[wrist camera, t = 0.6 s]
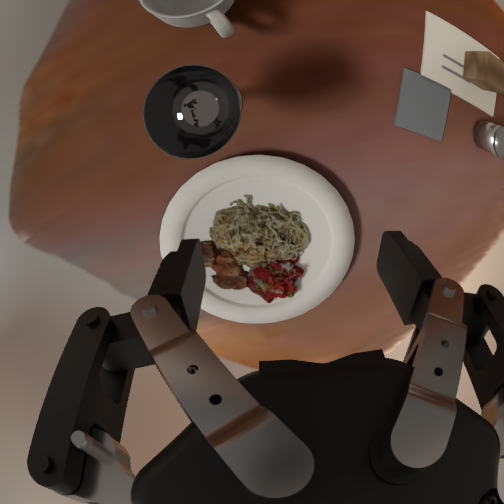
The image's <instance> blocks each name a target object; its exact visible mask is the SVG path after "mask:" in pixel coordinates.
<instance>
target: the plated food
mask: <svg viewBox="0 0 504 504" xmlns="http://www.w3.org/2000/svg"><path fill="white" fill-rule="evenodd" d="M198 238H199V239H200V242H201V246H202V252H203V258H204V263H205V269H206V283H205V288H204V293H203V298H202V303H201V309H203V310H205V311H206V312H208V313H210V314H213V315H215V316H218V317H220V318H223V319H227V320H231V321H235V322H241V323H253V324H259V323H273V322H277V321H282V320H287V319H290V318H293V317H295V316H298V315H301V314H303V313H305V312H307V311H309V310H310V309H312V308H314V307H316V306H317V305H319V304H320V303H321V302H322V301H324V300H325V299H326V298H327V297H329V296H330V295H331V293H332V292H333V291H334V290H335V289H336V288H337V287H338V286H339V284H340V283H341V281H342V279H343V278H344V276H345V274H346V273H347V271H348V268H349V266H350V263H351V260H352V257H353V251H354V243H355V235H354V226H353V221H352V218H351V215H350V212H349V210H348V207H347V205H346V203H345V202H344V200H343V199H342V197H341V196H340V194H339V193H338V191H337V190H336V189H335V188H334V187H333V186H332V185H331V184H330V183H329V182H328V181H327V180H326V179H325V178H324V177H323V176H322V175H320V174H319V173H317V172H316V171H314V170H312V169H311V168H309V167H307V166H306V165H304V164H301V163H298V162H295V161H293V160H290V159H287V158H284V157H277V156H270V155H261V154H259V155H246V156H237V157H233V158H230V159H226V160H223V161H220V162H216V163H214V164H212V165H211V166H209V167H207V168H205V169H203V170H201V171H200V172H198V173H196V174H195V175H194V176H193V177H192V178H190V179H189V180H188V181H187V182H186V183H185V184H184V185H182V186H181V188H180V189H179V190H178V192H177V193H176V194H175V196H174V197H173V199H172V200H171V201H170V203H169V205H168V207H167V210H166V212H165V215H164V217H163V219H162V225H161V231H160V251H161V256H162V259H163V258H164V257H165V256H166V255H167V254H169V253H170V252H171V251H177V250H178V247H179V245H180V242H181V240H182V239H198Z"/></svg>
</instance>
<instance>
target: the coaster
mask: <svg viewBox="0 0 504 504" xmlns="http://www.w3.org/2000/svg"><path fill="white" fill-rule="evenodd" d="M421 76H422V75H421V74H419V73H416V72H414V71H412V70H409V69H407V68H403V74H402V80H401V87H400V93H399V99H398V105H397V110H396V115H395V120H394V125H396V126H399V127H402V128H405V129H408V130H411V131H413V132H416V133H419V134H422V135H425V136H427V137H430V138H432V139H435V140H438V141H440V142H442V137H443V133H444V128H445V123H446V118H447V113H448V108H449V102H450V96H451V89H448V88H447V87H446V86H444V88H443V85H442V84H438V82H436V81H434V80H432V82H431V81H430V79H429V78H428V80H427V79H426V78H427V77H425V76H424V77H425V78H423V77H421ZM425 79H426V80H425ZM433 81H434V82H435V83H437V84H438V85H437V84H433V83H434V82H433ZM446 88H447V89H446Z"/></svg>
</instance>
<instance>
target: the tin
mask: <svg viewBox="0 0 504 504" xmlns="http://www.w3.org/2000/svg"><path fill="white" fill-rule="evenodd" d="M473 138H474V142H475V144H476V145H477V146H478V147H479V148H481V149H483V150H486V151H488V152H490V153H492V154H494V155H496V156H498V157H499V158H501V159H503V160H504V126H501V125H498V124H495V123H492V122H489V121H486V120H479V121H477V122H476V124H475V126H474V129H473Z"/></svg>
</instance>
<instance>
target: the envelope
mask: <svg viewBox="0 0 504 504" xmlns="http://www.w3.org/2000/svg"><path fill="white" fill-rule="evenodd" d="M465 51H489V52H491V51H490V50H488V49H487V48H486V47H484V46H483V45H481V44H480V43H479V42H477V41H476V40H474V39H473V38H471V37H470V36H468V35H467V34H465V33H464V32H462V31H461V30H459V29H458V28H456V27H454V26H453V25H451V24H449V23H448V22H446V21H444V20H443V19H441V18H439V17H437V16H435V15H433V14H432V13H430V12H428V11H426V18H425V35H424V47H423V57H422V65H421V73H420V74H421V75H422V76H421V77H423V78H425V77H427V78H426V79H427V80H428V78H429V79H430V81H431V82H432V80H434V81H436V82H438V84H442V85H443V88H444V86H446V87H447V88H448V89H451V93H452V94H454V95H456V96H458V97H460V98H462V99H463V100H465V101H467V102H469V103H471V104H472V105H474V106H476V107H477V108H479V109H481V110H482V111H484V112H485V113H487V114H489V115H490V116H492V117H493V115H494V108H495V102H496V94H497V93H496V92H491V91H486V90H482V89H480V88H479V87H477V86H475V85H474V84H472V83H471V82H469V81H467V80H466V79H464V78H463V69H464V58H465ZM491 53H492V52H491ZM492 54H493V53H492ZM493 55H494V56H496V55H495V54H493ZM496 57H497V56H496ZM497 58H498V59H500V58H499V57H497ZM424 76H425V77H424ZM426 79H425V80H426ZM434 81H433V82H434ZM433 84H437V83H435V82H434V83H433ZM438 84H437V85H438ZM447 88H446V89H447Z"/></svg>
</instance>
